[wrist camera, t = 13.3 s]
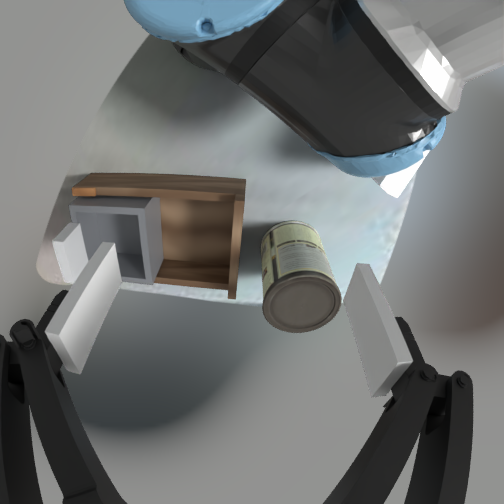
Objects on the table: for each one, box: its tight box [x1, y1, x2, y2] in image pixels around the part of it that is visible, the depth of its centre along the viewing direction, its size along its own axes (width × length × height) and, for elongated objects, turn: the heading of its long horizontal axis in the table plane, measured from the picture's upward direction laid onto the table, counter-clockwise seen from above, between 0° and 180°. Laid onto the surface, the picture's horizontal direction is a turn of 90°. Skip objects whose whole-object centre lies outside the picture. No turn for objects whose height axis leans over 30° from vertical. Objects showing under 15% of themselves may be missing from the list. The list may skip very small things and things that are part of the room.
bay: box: [72, 173, 246, 299], centre depth 43 cm, size 16×25×8 cm, turn 84°
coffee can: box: [261, 221, 341, 333], centre depth 43 cm, size 10×10×14 cm
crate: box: [52, 195, 164, 285], centre depth 39 cm, size 13×12×12 cm
